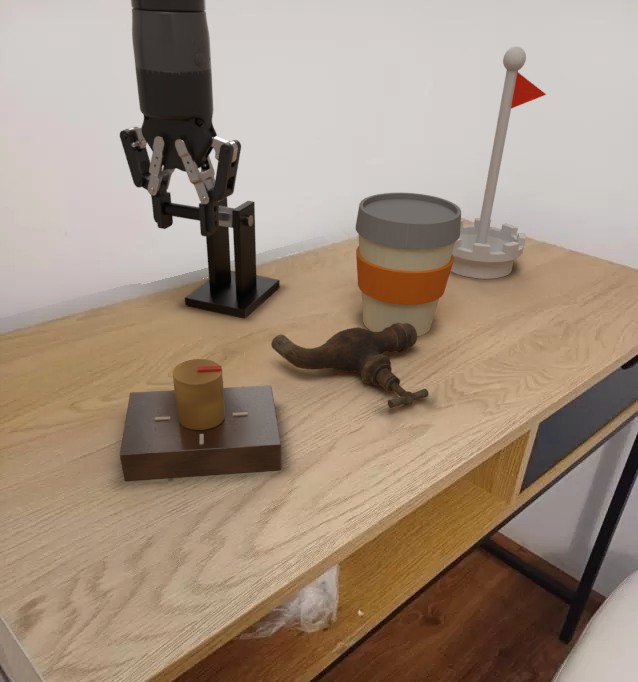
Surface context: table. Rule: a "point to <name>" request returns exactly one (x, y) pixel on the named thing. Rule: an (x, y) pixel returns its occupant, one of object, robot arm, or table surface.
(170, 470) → the panel
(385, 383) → the faucet
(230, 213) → the lever with black grip
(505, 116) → the flag stand
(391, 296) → the reusable coffee cup
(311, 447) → the table surface
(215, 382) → the tap knob
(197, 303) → the black upright frame
